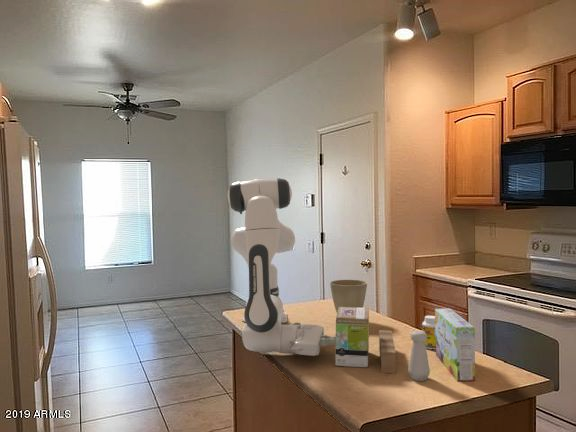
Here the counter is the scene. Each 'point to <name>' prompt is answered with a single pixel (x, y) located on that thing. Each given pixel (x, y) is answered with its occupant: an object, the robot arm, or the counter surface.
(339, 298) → the plant pot
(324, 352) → the counter surface
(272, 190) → the robot arm
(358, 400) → the counter surface
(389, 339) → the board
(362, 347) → the tea box
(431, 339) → the supplement bottle
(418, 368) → the salt shaker
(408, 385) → the counter surface
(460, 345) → the snack box
